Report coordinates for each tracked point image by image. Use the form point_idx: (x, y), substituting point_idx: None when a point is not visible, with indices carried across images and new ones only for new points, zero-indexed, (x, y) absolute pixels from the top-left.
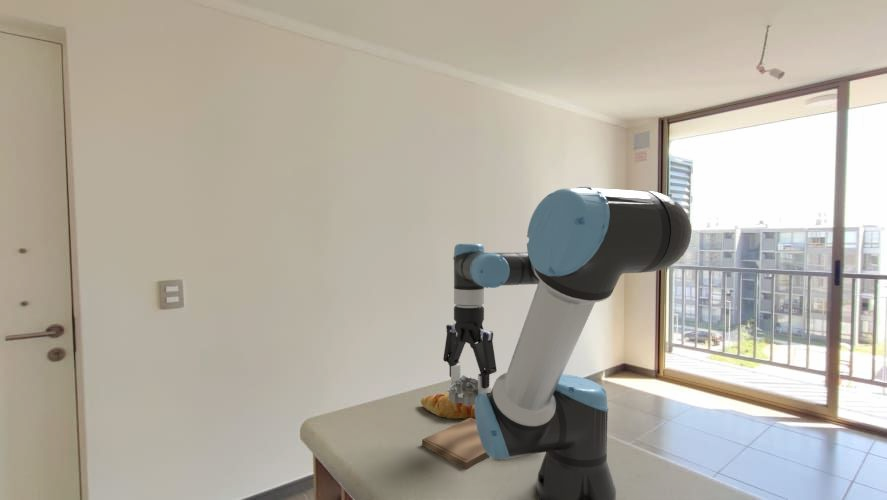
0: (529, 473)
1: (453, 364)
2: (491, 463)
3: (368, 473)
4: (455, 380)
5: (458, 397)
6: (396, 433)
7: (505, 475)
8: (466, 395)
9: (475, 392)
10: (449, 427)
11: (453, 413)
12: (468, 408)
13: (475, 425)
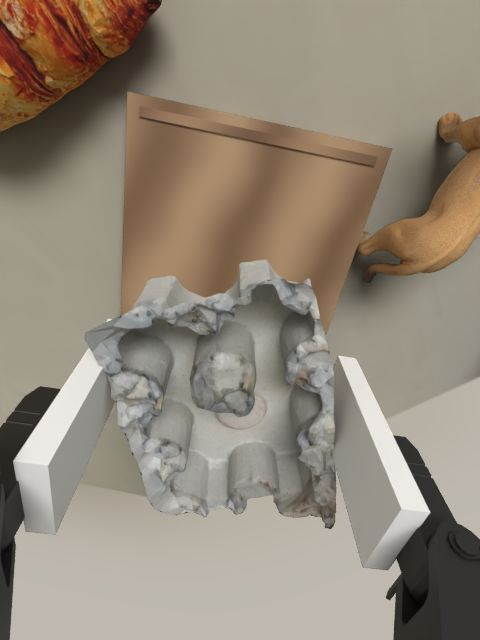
0: (471, 309)
1: (16, 523)
2: (353, 322)
3: (130, 482)
4: (103, 408)
5: (234, 469)
6: (3, 337)
7: (407, 350)
8: (294, 501)
9: (299, 418)
10: (125, 244)
11: (37, 114)
12: (79, 51)
13: (199, 160)
